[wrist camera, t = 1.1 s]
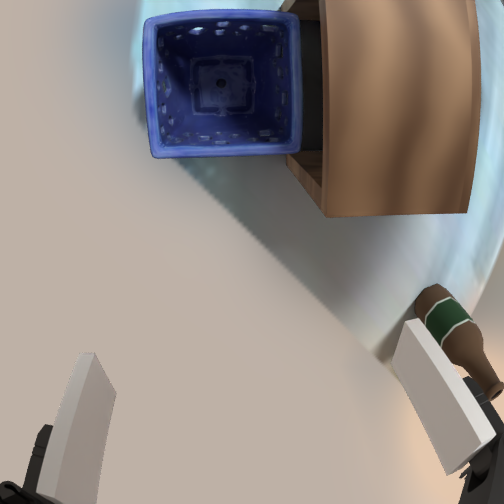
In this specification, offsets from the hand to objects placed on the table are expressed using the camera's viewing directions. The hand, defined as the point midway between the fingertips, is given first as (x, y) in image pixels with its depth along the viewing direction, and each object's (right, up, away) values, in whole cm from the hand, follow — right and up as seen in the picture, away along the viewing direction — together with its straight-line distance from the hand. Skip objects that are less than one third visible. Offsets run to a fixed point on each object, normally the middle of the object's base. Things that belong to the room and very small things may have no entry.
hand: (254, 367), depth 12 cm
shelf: (+11, +25, +21) cm, 34 cm away
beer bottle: (+33, -4, +39) cm, 51 cm away
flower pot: (-3, +24, +20) cm, 32 cm away
